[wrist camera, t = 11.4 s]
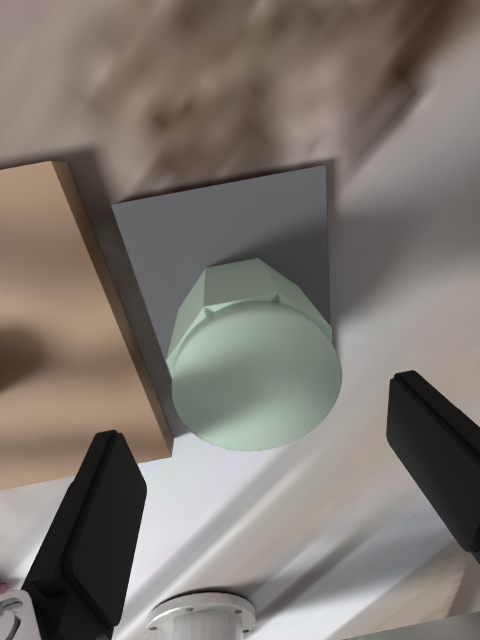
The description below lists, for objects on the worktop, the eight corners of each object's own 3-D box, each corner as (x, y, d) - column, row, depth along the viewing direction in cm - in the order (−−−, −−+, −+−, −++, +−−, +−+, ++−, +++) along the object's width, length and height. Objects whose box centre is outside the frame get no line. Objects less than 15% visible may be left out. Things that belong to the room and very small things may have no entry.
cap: (295, 250, 15) (345, 294, 9) (303, 356, 18) (345, 436, 12) (168, 274, 15) (143, 332, 9) (198, 376, 18) (192, 466, 12)
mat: (327, 388, 20) (331, 396, 20) (187, 415, 20) (186, 424, 20) (319, 165, 14) (325, 165, 13) (116, 203, 14) (111, 204, 13)
